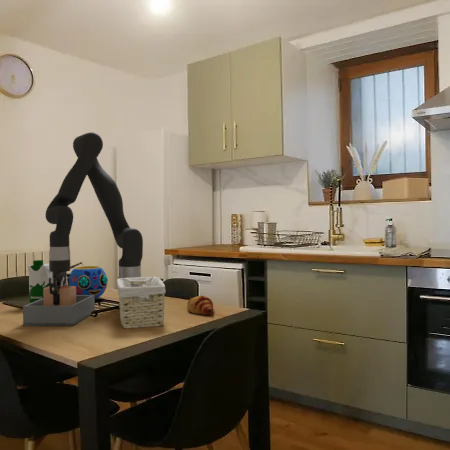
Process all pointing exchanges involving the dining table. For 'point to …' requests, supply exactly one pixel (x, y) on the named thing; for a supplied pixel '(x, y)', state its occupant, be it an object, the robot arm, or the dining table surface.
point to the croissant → (200, 305)
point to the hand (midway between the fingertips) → (60, 302)
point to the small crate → (65, 294)
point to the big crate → (58, 312)
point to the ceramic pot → (89, 280)
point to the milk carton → (38, 279)
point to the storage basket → (141, 302)
